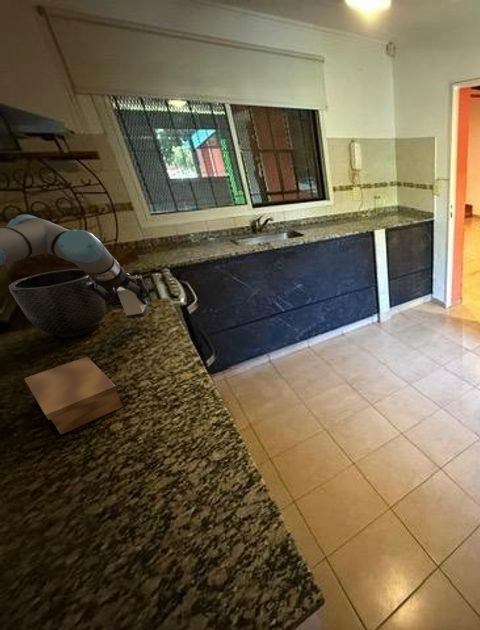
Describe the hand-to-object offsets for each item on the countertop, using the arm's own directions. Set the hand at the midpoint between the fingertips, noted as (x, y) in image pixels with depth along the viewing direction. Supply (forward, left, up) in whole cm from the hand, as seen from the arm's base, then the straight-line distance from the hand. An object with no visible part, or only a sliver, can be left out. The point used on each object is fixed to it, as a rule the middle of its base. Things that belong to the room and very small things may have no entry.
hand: (135, 302), depth 118 cm
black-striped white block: (+1, 0, -3) cm, 3 cm away
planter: (-10, -17, -9) cm, 22 cm away
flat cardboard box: (+40, -19, -9) cm, 45 cm away
